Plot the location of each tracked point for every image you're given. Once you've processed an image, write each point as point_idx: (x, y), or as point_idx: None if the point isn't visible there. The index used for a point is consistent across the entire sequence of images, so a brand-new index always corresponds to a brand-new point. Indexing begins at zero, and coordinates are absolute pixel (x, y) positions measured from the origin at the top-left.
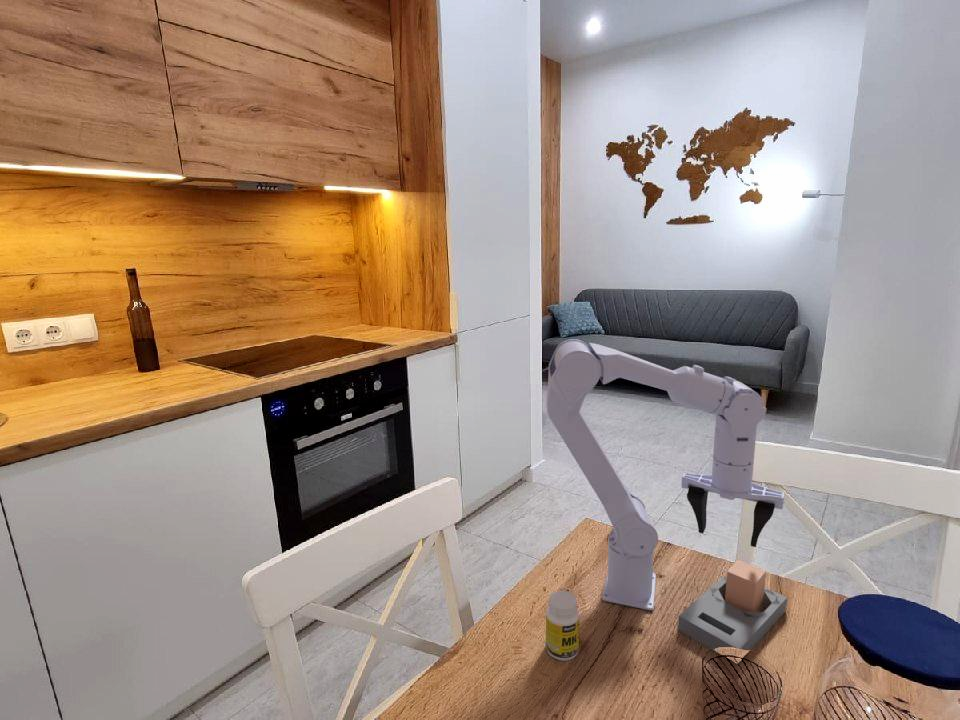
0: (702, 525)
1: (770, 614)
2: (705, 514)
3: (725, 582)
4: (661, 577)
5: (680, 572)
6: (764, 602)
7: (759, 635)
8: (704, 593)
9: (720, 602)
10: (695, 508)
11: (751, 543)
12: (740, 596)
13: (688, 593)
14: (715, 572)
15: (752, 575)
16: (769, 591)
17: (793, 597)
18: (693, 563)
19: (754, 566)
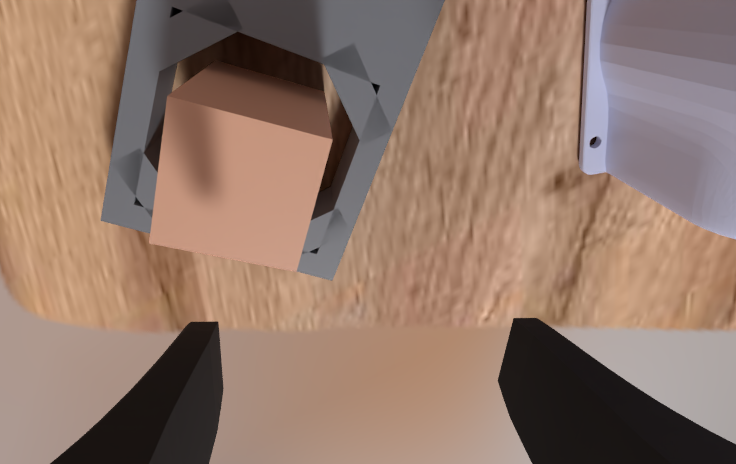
0: (552, 349)
1: (129, 66)
2: (547, 458)
3: (338, 200)
4: (555, 175)
5: (491, 235)
6: None
7: None
8: (410, 79)
9: (339, 47)
10: (720, 450)
11: (209, 332)
12: (260, 93)
13: (457, 129)
14: (378, 291)
15: (201, 165)
16: None
17: (120, 282)
18: (451, 303)
19: (211, 254)
